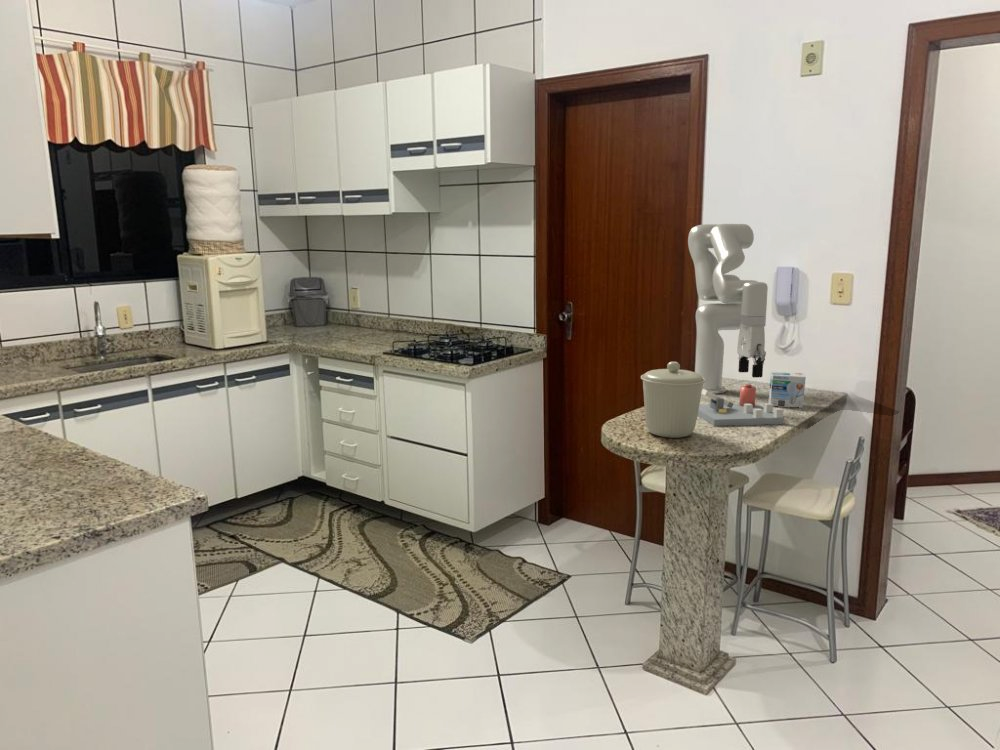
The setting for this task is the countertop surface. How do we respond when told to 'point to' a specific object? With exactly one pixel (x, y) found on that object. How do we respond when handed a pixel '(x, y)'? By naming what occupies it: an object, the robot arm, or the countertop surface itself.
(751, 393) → the cap
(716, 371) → the robot arm
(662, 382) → the canister
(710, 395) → the lever
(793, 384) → the light bulb box
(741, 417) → the panel
